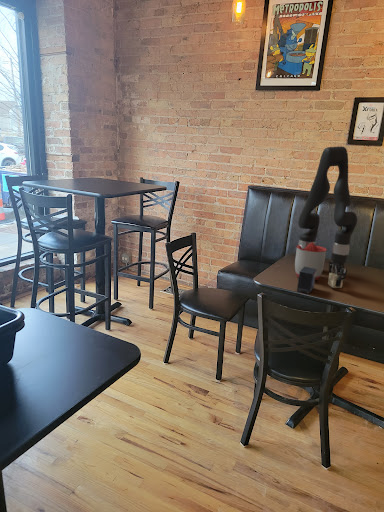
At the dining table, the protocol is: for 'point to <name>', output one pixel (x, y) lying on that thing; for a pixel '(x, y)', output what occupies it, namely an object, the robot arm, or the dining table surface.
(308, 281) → the small box
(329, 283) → the maple block
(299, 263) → the citrus juicer
